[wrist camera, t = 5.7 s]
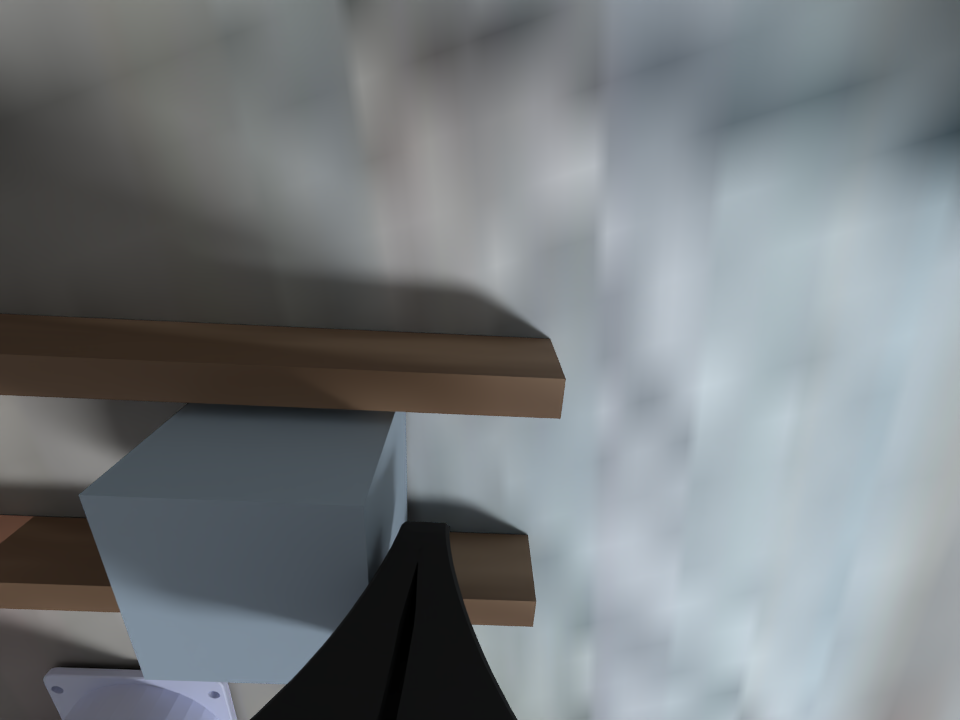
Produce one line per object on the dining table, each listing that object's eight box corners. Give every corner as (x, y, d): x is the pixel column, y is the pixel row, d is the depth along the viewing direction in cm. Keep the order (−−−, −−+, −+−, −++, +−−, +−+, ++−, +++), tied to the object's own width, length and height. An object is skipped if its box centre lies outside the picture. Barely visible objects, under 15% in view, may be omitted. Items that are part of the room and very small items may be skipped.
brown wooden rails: (525, 557, 19) (532, 626, 16) (-34, 537, 18) (-124, 603, 16) (550, 338, 15) (565, 378, 12) (-149, 307, 15) (-293, 341, 12)
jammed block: (407, 524, 18) (374, 686, 12) (248, 518, 18) (144, 679, 12) (405, 382, 16) (363, 506, 10) (222, 374, 15) (78, 494, 10)
